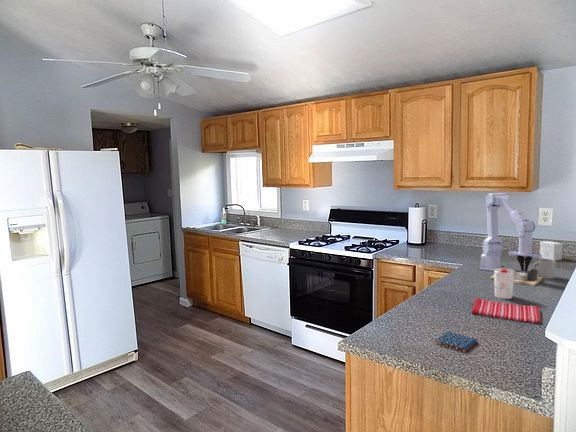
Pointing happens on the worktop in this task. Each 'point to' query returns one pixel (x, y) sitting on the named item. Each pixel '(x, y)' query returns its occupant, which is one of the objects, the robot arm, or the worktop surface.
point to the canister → (503, 282)
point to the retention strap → (516, 270)
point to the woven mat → (456, 341)
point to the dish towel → (507, 311)
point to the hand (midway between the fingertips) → (524, 270)
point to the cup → (546, 268)
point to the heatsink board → (532, 283)
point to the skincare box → (551, 250)
